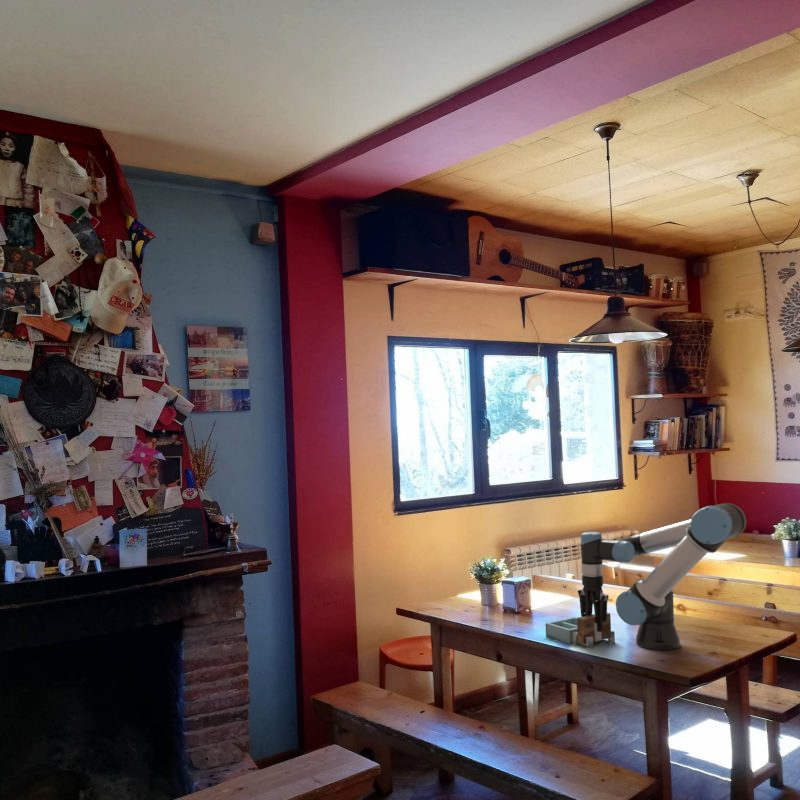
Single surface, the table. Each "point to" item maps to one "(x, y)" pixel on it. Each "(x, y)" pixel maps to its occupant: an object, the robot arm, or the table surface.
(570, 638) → the box
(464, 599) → the table surface
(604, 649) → the table surface
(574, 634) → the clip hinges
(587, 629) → the door
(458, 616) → the table surface
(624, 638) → the table surface
